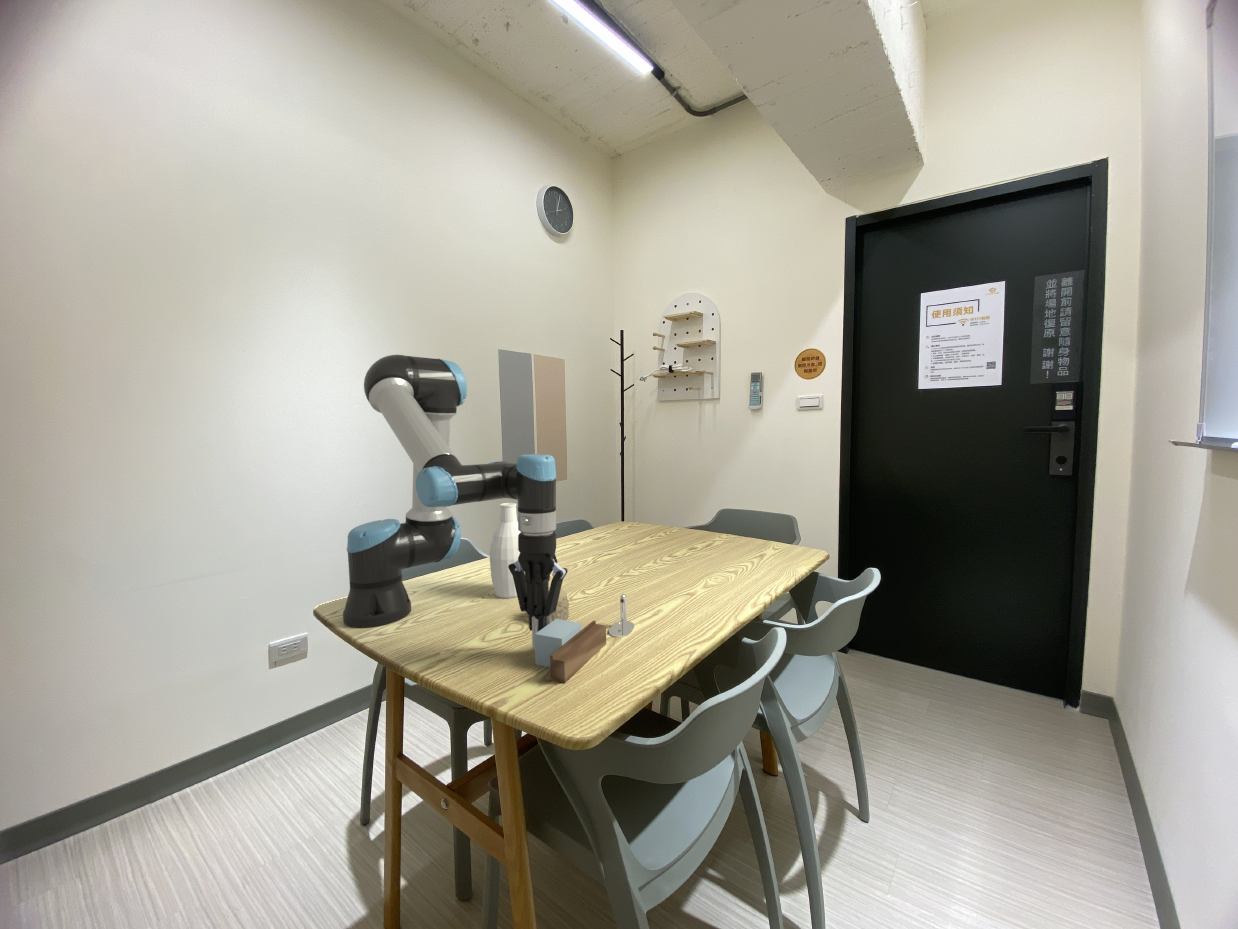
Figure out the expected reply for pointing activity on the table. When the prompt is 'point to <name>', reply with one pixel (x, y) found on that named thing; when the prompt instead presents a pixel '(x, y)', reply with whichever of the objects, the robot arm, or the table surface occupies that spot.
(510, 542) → the bottle
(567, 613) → the sponge
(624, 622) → the metal post stand
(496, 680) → the table surface
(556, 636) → the block
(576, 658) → the brown wooden bar
